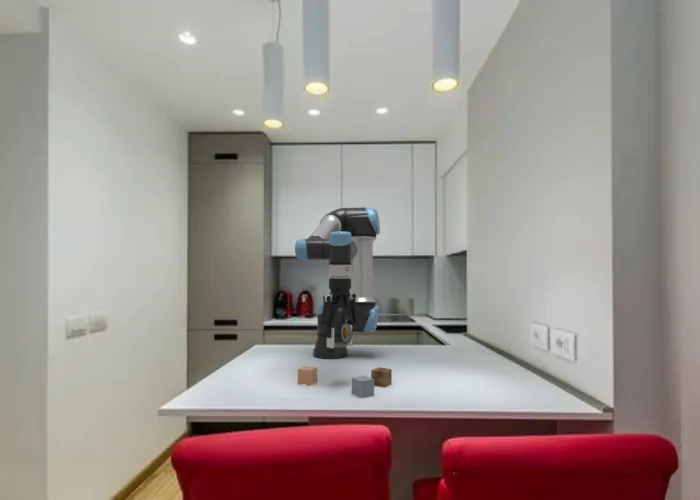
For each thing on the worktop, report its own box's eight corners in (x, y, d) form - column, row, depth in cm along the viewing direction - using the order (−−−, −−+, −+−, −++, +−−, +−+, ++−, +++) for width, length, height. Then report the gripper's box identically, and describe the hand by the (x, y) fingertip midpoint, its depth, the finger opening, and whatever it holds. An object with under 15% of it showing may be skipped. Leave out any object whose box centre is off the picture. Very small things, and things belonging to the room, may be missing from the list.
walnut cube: (371, 385, 150) (371, 370, 150) (378, 381, 154) (378, 367, 154) (384, 387, 147) (384, 372, 147) (391, 384, 151) (391, 369, 151)
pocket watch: (323, 347, 149) (323, 317, 149) (335, 343, 156) (336, 314, 156) (345, 350, 145) (345, 319, 145) (356, 345, 152) (357, 315, 153)
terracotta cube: (297, 384, 150) (297, 369, 150) (303, 380, 155) (303, 366, 155) (311, 385, 148) (311, 370, 148) (317, 382, 153) (317, 367, 153)
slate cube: (351, 393, 140) (351, 377, 140) (364, 391, 142) (365, 375, 142) (360, 398, 135) (360, 381, 136) (374, 395, 138) (374, 379, 138)
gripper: (325, 278, 141) (325, 352, 140) (368, 277, 156) (368, 343, 155) (309, 278, 146) (308, 348, 145) (352, 276, 161) (352, 340, 161)
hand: (339, 345), depth 150 cm, fingers closed on pocket watch, 8 cm apart
